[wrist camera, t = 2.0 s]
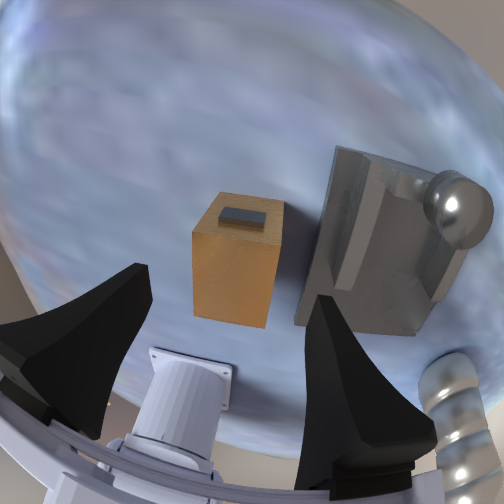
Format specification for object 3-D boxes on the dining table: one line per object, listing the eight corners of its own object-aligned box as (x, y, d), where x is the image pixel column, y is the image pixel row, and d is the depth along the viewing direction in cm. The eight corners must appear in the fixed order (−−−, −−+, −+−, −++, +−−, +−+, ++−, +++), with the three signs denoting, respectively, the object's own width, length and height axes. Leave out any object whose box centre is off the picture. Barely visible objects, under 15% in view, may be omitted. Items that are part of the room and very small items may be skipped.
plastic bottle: (478, 343, 19) (524, 512, 2) (444, 382, 23) (470, 533, 6) (435, 343, 19) (475, 548, 2) (402, 384, 23) (418, 557, 6)
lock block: (271, 271, 18) (264, 328, 13) (216, 262, 18) (193, 315, 13) (284, 196, 15) (282, 240, 11) (220, 187, 15) (192, 226, 11)
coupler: (412, 329, 19) (431, 387, 14) (294, 317, 19) (292, 385, 14) (480, 177, 12) (538, 216, 7) (338, 129, 12) (370, 147, 8)
